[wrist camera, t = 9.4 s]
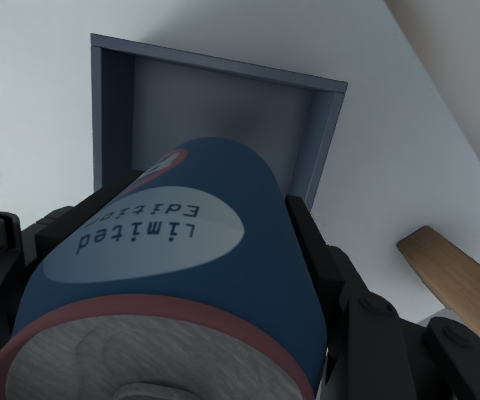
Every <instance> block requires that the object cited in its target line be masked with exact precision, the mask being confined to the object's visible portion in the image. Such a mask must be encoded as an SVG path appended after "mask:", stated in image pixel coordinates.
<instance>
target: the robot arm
mask: <svg viewBox="0 0 480 400" xmlns="http://www.w3.org/2000/svg"><path fill="white" fill-rule="evenodd" d="M144 172H145V171H140V170H134V169H128V170H126V171H125V172H123V173H122V174H121V175H119V176H118V177H116V178H115V179H113V180H112V181H111V182H109V183H108V184H106V185H105V186H103V187H102V188H100V189H99V190H98V191H96V192H95V193H93V194H92V195H90V196H89V197H88V198H86V199H85V200H83V201H82V202H80V203H79V204H78V205H76V206H75V207H73V206H66V207H63V208H60V209H57V210H54V211H52V212H51V213H49V214H48V215H46V216H45V217H44V218H41V219H40V220H38V221H37V222H36V224H32V225H31V226H29V227H27V228H26V229H24V230H23V231H21V228H20V220H19V217H18V216H16V215H15V214H12V213H9V212H0V351H1V349H2V348H3V347H4V346H5V345H6V344H7V343H8V342H9V341H10V338H11V334H12V330H13V327H14V323H15V319H16V315H17V312H18V308H19V305H20V301H21V298H22V295H23V293H24V290H25V287H26V285H27V283H28V281H29V279H30V277H31V276H32V274H33V273H34V271H35V270H36V268H37V267H38V265H39V264H40V263H41V262H42V261H43V260H44V258H45V257H46V256H47V255H48V254H49V253H50V252H52V251H53V250H54V249H55V248H56V247H57V246H58V245H59V244H61V243H62V242H63V241H64V240H65V239H67V238H68V237H69V236H70V235H71V234H72V233H74V232H75V231H76V230H77V229H78V228H80V227H81V226H82V225H83V224H84V223H85V222H87V221H88V220H89V219H90V218H91V217H93V216H94V215H95V214H96V213H97V212H98V211H100V210H101V209H102V208H103V207H104V206H105V205H107V204H108V203H109V202H110V201H111V200H113V199H114V198H115V197H116V196H117V195H118V194H120V193H121V192H122V191H123V190H124V189H126V188H127V187H128V186H129V185H130V184H131V183H133V182H134V181H135V180H136V179H137V178H139V177H140V176H141V175H142V174H143V173H144ZM284 203H285V206H286V208H287V211H288V214H289V217H290V220H291V223H292V226H293V228H294V231H295V234H296V237H297V240H298V243H299V246H300V248H301V251H302V254H303V257H304V260H305V263H306V266H307V268H308V271H309V274H310V277H311V280H312V283H313V286H314V288H315V291H316V294H317V297H318V300H319V303H320V306H321V309H322V312H323V315H324V319H325V323H326V329H327V347H328V353H327V356H326V358H325V364H324V368H323V372H322V376H321V379H322V385H321V394H320V400H480V337H479V336H478V335H477V334H476V333H474V332H473V331H471V330H470V329H469V328H468V327H466V326H465V325H463V324H460V323H459V322H457V321H455V320H451V319H448V318H445V317H433V318H431V319H430V321H429V323H428V325H427V327H423V326H420V325H417V324H415V323H412V322H409V321H406V320H404V319H401V318H399V315H398V313H397V311H396V309H395V308H394V307H393V306H392V304H391V303H390V302H388V301H387V300H386V299H384V298H383V297H381V296H379V295H377V294H375V293H373V292H370V291H369V290H368V288H367V287H366V285H365V283H364V282H363V280H362V278H361V277H360V275H359V274H358V272H357V271H356V269H355V267H354V265H353V264H352V262H351V261H350V259H349V257H348V256H347V254H345V253H344V252H343V251H342V250H341V249H340V248H338V247H335V246H329V245H326V243H325V241H324V239H323V237H322V236H321V234H320V232H319V230H318V228H317V226H316V224H315V222H314V220H313V218H312V217H311V215H310V213H309V211H308V209H307V207H306V205H305V203H304V201H303V199H302V197H298V196H292V195H286V198H285V202H284Z"/></svg>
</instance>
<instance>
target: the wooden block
mask: <svg viewBox="0 0 480 400" xmlns="http://www.w3.org/2000/svg"><path fill="white" fill-rule="evenodd" d="M397 248H398V249H399V251H400V252H401V253H402V255H403V256H404V257H405V259H406V260H407V261H408V263H409V264H410V265H411V267H412V268H413V269H414V271H415V272H416V273H417V275H418V276H419V277H420V279H421V280H422V281H423V283H424V284H425V285H426V286H427V288H428V289H429V290H430V291H431V292H432V293H433V294H434V295H435V297H436V298H437V299H438V300H439V301H440V302H441V303H442V304H443V305H444V306H445V307H446V309H448V310H453V311H454V312H455V314H457V316H458V317H459V318H460V319H461V320H462V321H463V322H464V323H465V324H466V325H467V326H468V327H469V328H470V330H471V331H473V332H474V333H476V334H477V335H478V336H479V337H480V264H479V263H477V262H476V261H475V260H473V259H472V258H471V257H469V256H468V255H467V254H465V253H464V252H463V251H461V250H460V249H459V248H457V247H456V246H455V245H453V244H452V243H451V242H449V241H448V240H447V239H445V238H444V237H443V236H441V235H440V234H439V233H437V232H436V231H434V230H433V229H432V228H430V227H429V226H426V227H424V228H422V229H420V230H419V231H417V232H416V233H414V234H412V235H411V236H409V237H408V238H406V239H404V240H403V241H401V242H400V243H398V244H397Z"/></svg>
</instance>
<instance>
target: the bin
mask: <svg viewBox="0 0 480 400" xmlns="http://www.w3.org/2000/svg"><path fill="white" fill-rule="evenodd" d="M91 45H92V46H91V81H92V129H93V176H94V193H95V192H96V191H98V190H99V189H100V188H102V187H103V186H105V185H106V184H108V183H109V182H111V181H112V180H113V179H115V178H116V177H118V176H119V175H121V174H122V173H123V172H125V171H126V170H128V169H134V170H140V171H145V172H146V171H147V170H148V169H149V168H150V167H152V166H153V165H154V164H155V163H156V162H157V161H159V160H160V159H161V158H162V157H163V156H164V155H166V154H167V153H168V152H169V151H171V150H172V149H173V148H175V147H176V146H178V145H180V144H182V143H184V142H187V141H190V140H193V139H197V138H204V137H219V138H226V139H230V140H233V141H236V142H239V143H241V144H243V145H245V146H247V147H249V148H250V149H252V150H253V151H255V152H256V153H257V154H258V155H259V156H261V157H262V158H263V159H264V161H265V162H266V163H267V164H268V166H269V167H270V168H271V170H272V172H273V174H274V176H275V178H276V180H277V183H278V186H279V188H280V191H281V194H282V197H283V200H284V202H285V198H286V195H292V196H298V197H302V199H303V201H304V203H305V205H306V207H307V209H308V211H309V213H310V212H311V209H312V205H313V202H314V198H315V195H316V191H317V188H318V185H319V181H320V178H321V174H322V171H323V167H324V164H325V161H326V157H327V154H328V150H329V147H330V144H331V140H332V137H333V133H334V130H335V126H336V123H337V120H338V116H339V113H340V109H341V106H342V103H343V99H344V96H345V94H344V93H345V92H346V89H347V85H348V83H347V82H343V81H338V80H333V79H327V78H322V77H317V76H312V75H307V74H301V73H296V72H291V71H286V70H281V69H275V68H270V67H265V66H260V65H255V64H249V63H244V62H239V61H234V60H229V59H223V58H218V57H213V56H208V55H203V54H197V53H192V52H187V51H182V50H176V49H171V48H166V47H161V46H156V45H150V44H145V43H140V42H135V41H130V40H124V39H119V38H114V37H109V36H104V35H98V34H93V33H91Z"/></svg>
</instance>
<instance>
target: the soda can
mask: <svg viewBox="0 0 480 400" xmlns="http://www.w3.org/2000/svg"><path fill="white" fill-rule="evenodd" d="M326 351H327V329H326V323H325V319H324V315H323V312H322V309H321V306H320V303H319V300H318V297H317V294H316V291H315V288H314V286H313V283H312V280H311V277H310V274H309V271H308V268H307V266H306V263H305V260H304V257H303V254H302V251H301V248H300V246H299V243H298V240H297V237H296V234H295V231H294V228H293V226H292V223H291V220H290V217H289V214H288V211H287V208H286V206H285V203H284V200H283V197H282V194H281V191H280V188H279V186H278V183H277V180H276V178H275V176H274V174H273V172H272V170H271V168H270V167H269V166H268V164H267V163H266V162H265V161H264V159H263V158H262V157H261V156H259V155H258V154H257V153H256V152H255V151H253V150H252V149H250V148H249V147H247V146H245V145H243V144H241V143H239V142H236V141H233V140H230V139H226V138H219V137H204V138H197V139H193V140H190V141H187V142H184V143H182V144H180V145H178V146H176V147H175V148H173V149H172V150H171V151H169V152H168V153H167V154H166V155H164V156H163V157H162V158H161V159H160V160H159V161H157V162H156V163H155V164H154V165H153V166H152V167H150V168H149V169H148V170H147V171H146V172H144V173H143V174H142V175H141V176H140V177H139V178H137V179H136V180H135V181H134V182H133V183H131V184H130V185H129V186H128V187H127V188H126V189H124V190H123V191H122V192H121V193H120V194H118V195H117V196H116V197H115V198H114V199H113V200H111V201H110V202H109V203H108V204H107V205H105V206H104V207H103V208H102V209H101V210H100V211H98V212H97V213H96V214H95V215H94V216H93V217H91V218H90V219H89V220H88V221H87V222H85V223H84V224H83V225H82V226H81V227H80V228H78V229H77V230H76V231H75V232H74V233H72V234H71V235H70V236H69V237H68V238H67V239H65V240H64V241H63V242H62V243H61V244H59V245H58V246H57V247H56V248H55V249H54V250H53V251H52V252H50V253H49V254H48V255H47V256H46V257H45V258H44V260H43V261H42V262H41V263H40V264H39V265H38V267H37V268H36V270H35V271H34V273H33V274H32V276H31V277H30V279H29V281H28V283H27V285H26V287H25V290H24V293H23V295H22V298H21V301H20V305H19V308H18V312H17V315H16V319H15V323H14V327H13V330H12V334H11V338H10V341H9V342H8V343H7V344H6V345H5V346H4V347H3V348H2V349H1V351H0V400H315V399H316V396H317V392H318V388H319V384H320V380H321V376H322V372H323V368H324V364H325V358H326Z"/></svg>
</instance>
